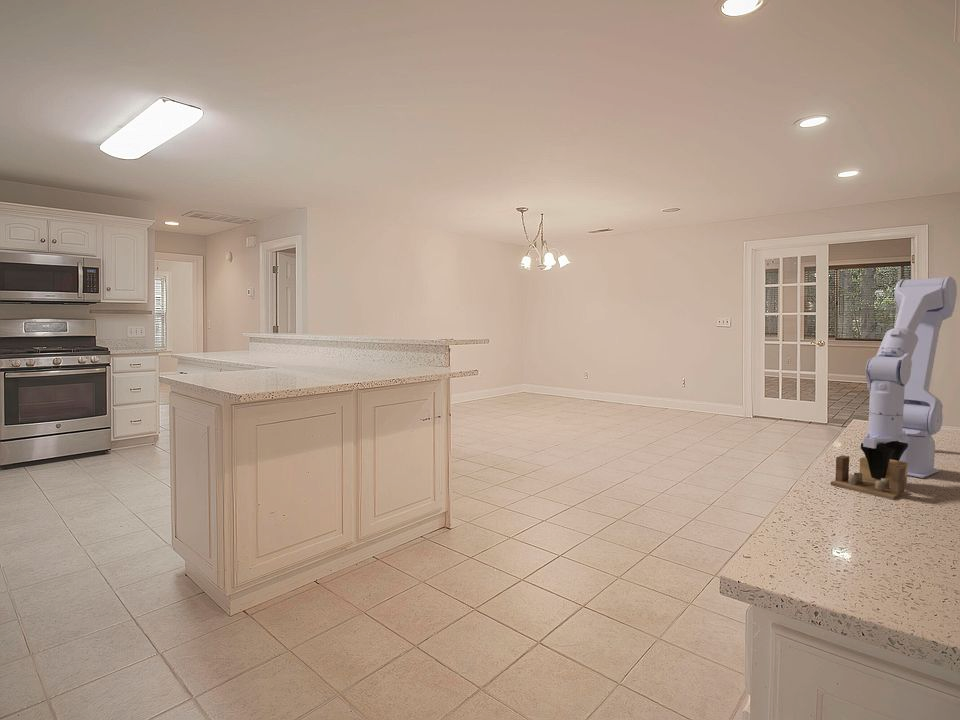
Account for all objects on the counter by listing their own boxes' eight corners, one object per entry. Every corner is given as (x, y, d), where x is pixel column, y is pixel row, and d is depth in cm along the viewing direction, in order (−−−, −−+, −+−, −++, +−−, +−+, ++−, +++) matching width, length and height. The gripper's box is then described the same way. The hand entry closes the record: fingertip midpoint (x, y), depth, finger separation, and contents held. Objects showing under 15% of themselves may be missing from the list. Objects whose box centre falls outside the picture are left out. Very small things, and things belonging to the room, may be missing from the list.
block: (867, 477, 115) (868, 455, 114) (906, 486, 109) (907, 462, 109) (859, 480, 113) (860, 458, 112) (898, 489, 107) (899, 465, 106)
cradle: (846, 479, 114) (847, 453, 114) (908, 493, 105) (909, 465, 104) (830, 484, 110) (831, 458, 110) (893, 499, 101) (894, 471, 101)
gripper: (893, 420, 103) (890, 487, 104) (923, 412, 110) (920, 475, 111) (853, 414, 108) (850, 478, 110) (883, 407, 116) (880, 467, 117)
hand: (882, 476), depth 111 cm, fingers closed on block, 4 cm apart
